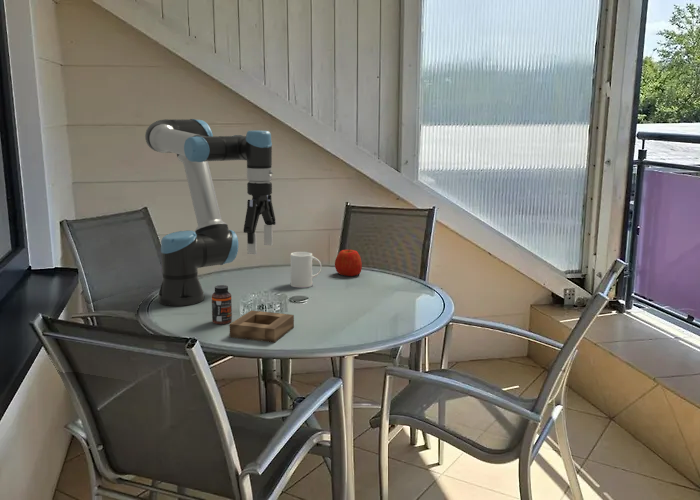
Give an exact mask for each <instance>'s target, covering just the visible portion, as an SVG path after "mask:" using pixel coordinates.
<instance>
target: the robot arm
mask: <svg viewBox="0 0 700 500" xmlns="http://www.w3.org/2000/svg"><path fill="white" fill-rule="evenodd" d="M144 137H145V142H146V144H147V146H148V147H149V149H151V150H153V151H155V152H158V153H162V154H164V153H165V154H166V153H167V154H168V153H169V154H170V153H171V154H176V158H177V160H178V161H179V162H181V163H182V164H183V168H184V172H185V175H186V180H187V184H188V185H187V186H188V189H189V194H190V197H191V201H192V206H193V211H194V214H195V220H196V223H197V227H196V228H195V230H179V231H175V232H171V233H169V234H166V235H164V236H163V237H162V238H161V240H160V241H161V242H160V253H161V254H160V255H161V271H162V272H161V273H162V280H161V285H160V288H159V291H158V303H160V304H161V305H164V306H171V307H172V306H174V307H181V306H182V307H183V306H191V305H195V304H198V303H201V302H202V301H204V299H205V294H204V290H203V288H202V285H201V282H200V280H199V275H198V272H199V271H198V269H201V268H207V267H208V268H209V267H214V266H223V265H226V264H230V263H232V262H234V261H235V259H236V258H237V255H238V253H239V238H238V236H237V235H238V234H237V233H236V232H235V231H234V230H232V229H229V226H228V223H226V222H225V221H223V218H222V215H221V211H220V210H221V209H220V206H219V202H218V197H217V194H216V193H217V192H216V189H215V185H214V181H213V178H212V173H211V169H210V168H211V167H210V165H209V162H219V161H220V162H221V161H224V162H227V161H246V180H247V181H248V182H247V184H246V185H247V187H246V189H247V194H248V195H249V196H252V197H251V198H252V199H247V202H246V203H247V205H246V206H247V207H246V212H245V213H246V214H245V220H244V225H243V233H244V234H246V243H247V244H246V245H247V246H246V247H247V249H246V250H247V254H248V255H257V253H258V252H257V251H258V250H257V249H258V248H257V247H258V246H257V245H258V243H257V242H258V241H257V232H256V230H257V227H258V226H257V225H258V222H259V218H260V215H261V216H262V219H263V221H264V225H263V245H264V246H273V245H274V239H273V238H274V237H273V235H274V234H273V230H274V229H273V226H275V225H276V224H277V223H276V216H275V211H274V207H273V200H272V194H273V184H272V182H271V181H272V176H273V174H274V171H272V168H273V167H272V165H273V163H272V162H273V161H272V159H273V158H272V156H273V153H272V152H273V151H272V150H273V148H272V146H273V142H272V134H271V132H270V131H269V130H258V129H257V130H254V129H253V130H248V131H246V136H245V135H243V134H242V135H241V134H237V135H236V134H235V135H225V136H224V135H223V136H222V135H220V136H214V134H213V132H212V129H211V127H210V125H209V124H208V122H206V121H205V120H202V119H195V118H190V119H183V118H182V119H178V118H177V119H176V118H175V119H170V118H169V119H168V118H167V119H158V120H157V121H154V122H152V123H151V124H150V125H149V126H148V127H147V129H146V131H145V134H144Z"/></svg>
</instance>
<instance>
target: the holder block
mask: <svg viewBox="0 0 700 500" xmlns="http://www.w3.org/2000/svg"><path fill="white" fill-rule="evenodd" d="M294 328H295V315H294V314H289V313H279V312H278V313H277V312H271V311H270V312H269V311H260V310H249V311H248V312H246V313H245V314H244V315H242V316H240V317H238V318H237V319H235V320H234V321H231V322H230V323H229V338H234V339H240V340H250V341H257V342H267V343H273V344H276V343H277V342H278V341H280V340H281V338H283V337H284V336H285V335H286V334H288V333H289V332H290V331H291V330H293V329H294Z"/></svg>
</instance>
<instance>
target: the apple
mask: <svg viewBox="0 0 700 500" xmlns="http://www.w3.org/2000/svg"><path fill="white" fill-rule="evenodd" d="M362 265H363V263H362V258H361V255H360V254H359V252H358V251H357V250H354V249H349V248H348V249H341V250H340V251H339V252H338V253H337V256H336V258H335V260H334V267H335V270H336V272H337V274H339V275H341V276H346V277H354V276H359V275H360V274H361V272H362V268H363V267H362ZM358 274H359V275H358Z"/></svg>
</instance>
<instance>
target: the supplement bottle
mask: <svg viewBox="0 0 700 500" xmlns="http://www.w3.org/2000/svg"><path fill="white" fill-rule="evenodd" d="M232 307H233V306H232V294H231V293H230V291H229V287H228V285H225V284H221V285H215V286H214V292H213V293H212V294H211V318H212V320H211V321H212V323H213V324H216V325H226V324H227V325H228V324H230V323H232V322H233V312H232V311H233V308H232Z"/></svg>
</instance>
